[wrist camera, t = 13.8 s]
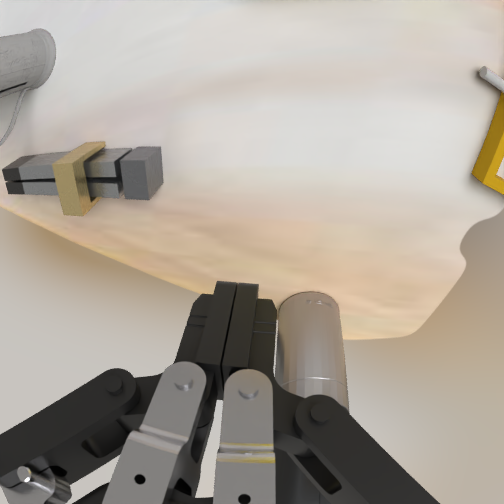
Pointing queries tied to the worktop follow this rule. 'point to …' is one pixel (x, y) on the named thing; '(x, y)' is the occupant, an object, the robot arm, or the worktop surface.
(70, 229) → the worktop surface
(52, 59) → the glass holder
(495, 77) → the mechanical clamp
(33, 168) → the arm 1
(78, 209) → the tan framed block
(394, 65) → the worktop surface
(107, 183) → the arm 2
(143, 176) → the plate
